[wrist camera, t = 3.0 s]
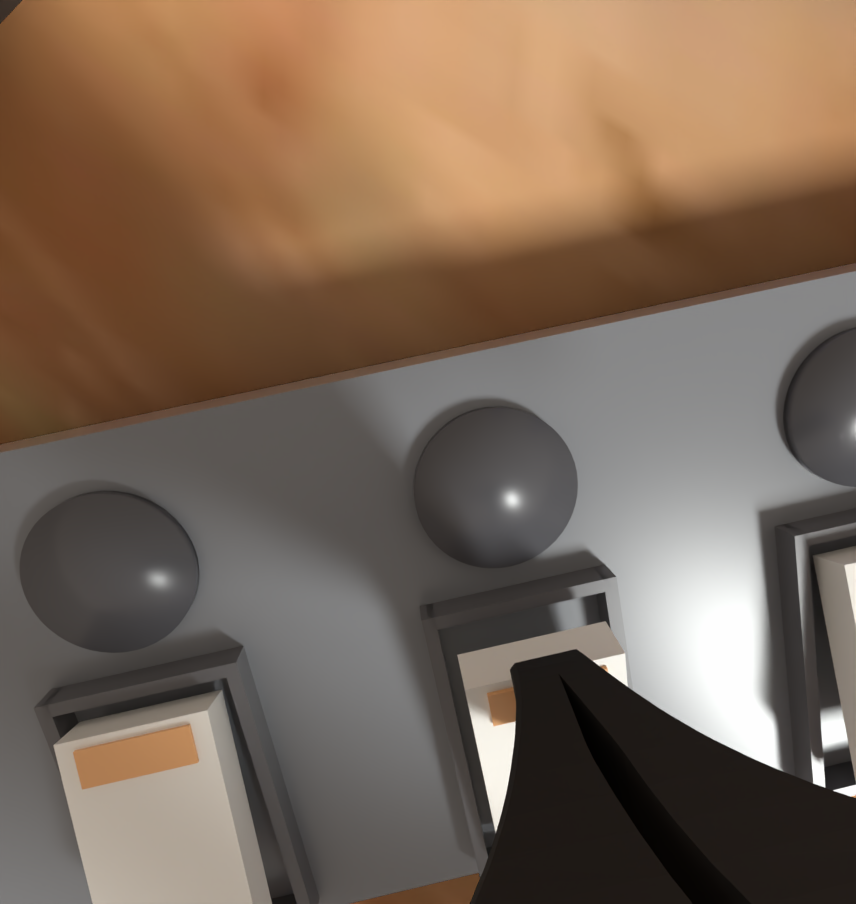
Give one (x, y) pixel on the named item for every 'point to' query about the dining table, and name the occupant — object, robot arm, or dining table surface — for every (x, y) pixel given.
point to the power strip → (435, 571)
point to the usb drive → (7, 7)
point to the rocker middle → (496, 696)
